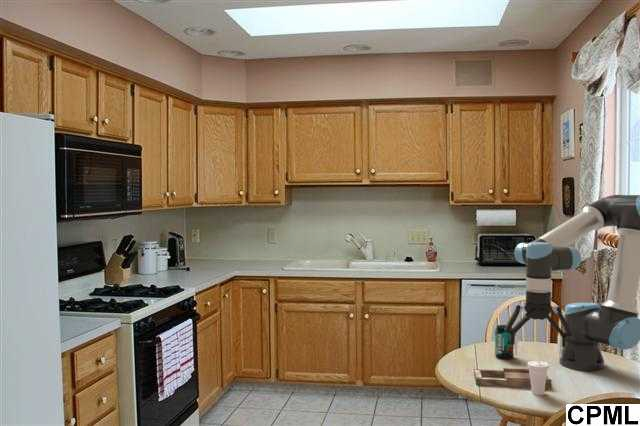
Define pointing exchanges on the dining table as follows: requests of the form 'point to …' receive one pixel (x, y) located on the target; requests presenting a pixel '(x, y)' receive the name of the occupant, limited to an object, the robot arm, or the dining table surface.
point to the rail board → (506, 377)
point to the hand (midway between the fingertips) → (537, 355)
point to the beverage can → (503, 343)
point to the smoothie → (538, 376)
